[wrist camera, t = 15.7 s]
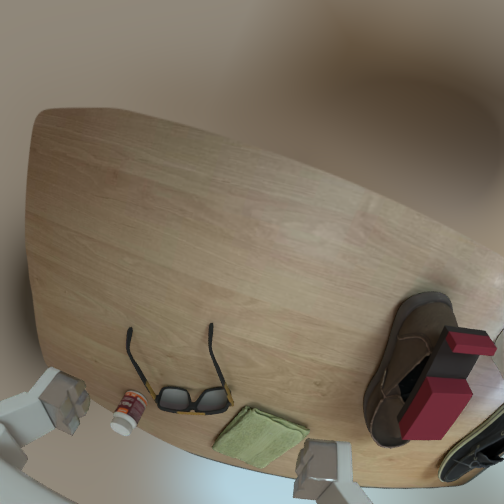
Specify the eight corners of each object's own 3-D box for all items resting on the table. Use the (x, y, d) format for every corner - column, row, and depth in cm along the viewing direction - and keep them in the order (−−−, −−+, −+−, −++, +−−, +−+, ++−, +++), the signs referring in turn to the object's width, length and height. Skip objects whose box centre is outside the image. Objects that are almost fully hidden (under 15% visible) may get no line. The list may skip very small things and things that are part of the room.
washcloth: (313, 424, 51) (313, 439, 48) (264, 460, 59) (262, 472, 56) (249, 398, 50) (245, 413, 47) (208, 439, 58) (205, 451, 55)
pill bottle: (136, 387, 54) (118, 420, 46) (152, 404, 55) (136, 437, 48) (121, 391, 56) (103, 422, 48) (136, 407, 57) (120, 438, 49)
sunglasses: (212, 321, 44) (203, 344, 40) (238, 394, 50) (233, 417, 45) (130, 325, 47) (115, 345, 43) (164, 392, 53) (155, 413, 49)
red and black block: (444, 324, 29) (457, 346, 25) (485, 330, 28) (499, 350, 24) (396, 416, 34) (400, 440, 30) (434, 418, 33) (441, 440, 29)
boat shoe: (423, 467, 56) (428, 498, 47) (512, 388, 43) (528, 421, 35) (451, 468, 56) (457, 497, 48) (535, 394, 43) (550, 424, 35)
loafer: (357, 428, 50) (360, 476, 41) (377, 289, 39) (394, 343, 29) (413, 422, 48) (422, 468, 39) (453, 283, 37) (485, 332, 27)
